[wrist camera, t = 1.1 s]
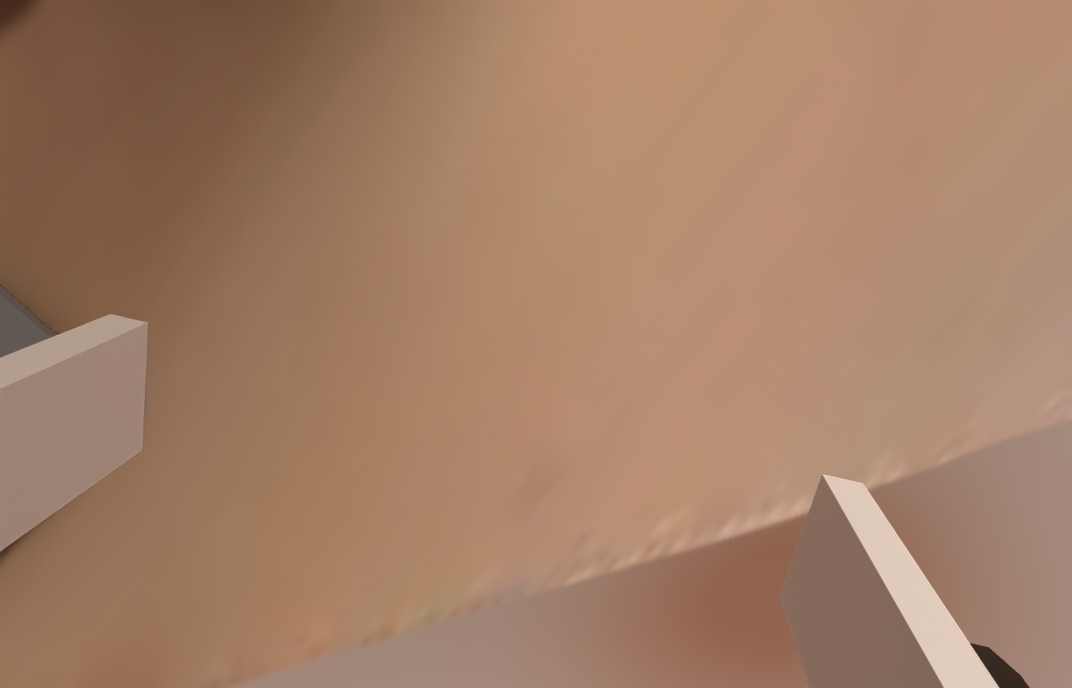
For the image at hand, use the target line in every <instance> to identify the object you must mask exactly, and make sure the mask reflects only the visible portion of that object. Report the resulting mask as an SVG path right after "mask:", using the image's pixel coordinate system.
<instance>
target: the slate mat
mask: <svg viewBox="0 0 1072 688" xmlns="http://www.w3.org/2000/svg"><path fill="white" fill-rule="evenodd" d="M54 336H56V334H55V333H54V332H53V331H52V330H51V329H50V328H48V327H47V326H46V325H45V324H44V323H43V322H41V321H40V320H39V319H38V318H37V317H36V316H35V315H33V314H32V313H31V312H30V311H29V310H28V309H27V308H25V307H24V306H23V305H22V304H21V303H20V302H19V301H17V300H16V299H15V298H14V297H13V296H12V295H11V294H9V293H8V292H7V291H6V290H5V289H4V288H2V287H1V286H0V358H1V357H3V356H6V355H8V354H11V353H13V352H16V351H18V350H21V349H24V348H26V347H29V346H31V345H34V344H36V343H39V342H41V341H44V340H46V339H49V338H51V337H54ZM4 549H5V548H4ZM4 549H3V550H4ZM3 550H2V551H3ZM2 551H0V553H1V552H2Z"/></svg>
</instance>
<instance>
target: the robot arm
mask: <svg viewBox="0 0 1072 688" xmlns="http://www.w3.org/2000/svg"><path fill="white" fill-rule="evenodd" d="M147 335H148V322H143V321H139V320H134V319H130V318H126V317H121V316H117V315H112V314H109V315H106V316H104V317H101V318H99V319H96V320H94V321H91V322H89V323H86V324H84V325H81V326H79V327H76V328H74V329H71V330H69V331H66V332H64V333H61V334H59V335H56V336H54V337H51V338H49V339H46V340H44V341H41V342H39V343H36V344H34V345H31V346H29V347H26V348H24V349H21V350H18V351H16V352H13V353H11V354H8V355H6V356H3V357H1V358H0V551H2V550H3V549H4V548H6V547H7V546H9V545H10V544H11V543H13V542H14V541H16V540H17V539H18V538H20V537H21V536H23V535H24V534H25V533H27V532H28V531H30V530H31V529H32V528H34V527H35V526H37V525H38V524H39V523H41V522H42V521H44V520H45V519H46V518H48V517H49V516H51V515H52V514H53V513H55V512H56V511H58V510H59V509H60V508H62V507H63V506H65V505H66V504H67V503H69V502H70V501H72V500H73V499H75V498H76V497H77V496H79V495H80V494H82V493H83V492H84V491H86V490H87V489H89V488H90V487H91V486H93V485H94V484H96V483H97V482H98V481H100V480H101V479H103V478H104V477H105V476H107V475H108V474H110V473H111V472H112V471H114V470H115V469H117V468H118V467H119V466H121V465H122V464H124V463H125V462H126V461H128V460H129V459H131V458H132V457H133V456H135V455H136V454H138V453H139V452H140V451H142V450H143V428H144V405H145V381H146V358H147ZM779 599H780V602H781V604H782V607H783V610H784V613H785V616H786V619H787V622H788V625H789V628H790V631H791V634H792V637H793V640H794V643H795V646H796V649H797V652H798V655H799V658H800V661H801V664H802V667H803V670H804V673H805V676H806V679H807V682H808V685H809V688H1029V686H1028V685H1027V684H1026V682H1025V681H1024V679H1023V678H1022V677H1021V676H1020V674H1018V673H1017V672H1016V671H1015V670H1014V669H1013V668H1012V667H1010V666H1009V665H1008V664H1007V663H1006V662H1005V661H1004V660H1002V659H1001V658H1000V657H999V656H998V655H997V654H996V653H994V652H993V651H992V650H991V649H990V648H989V647H984V646H980V645H976V644H972V643H969V642H968V640H967V639H966V637H965V636H964V634H963V633H962V631H961V630H960V628H959V627H958V625H957V624H956V622H955V621H954V619H953V618H952V616H951V615H950V613H949V612H948V610H947V609H946V607H945V606H944V604H943V603H942V601H941V600H940V598H939V597H938V595H937V594H936V592H935V591H934V589H933V588H932V586H931V585H930V583H929V582H928V580H927V579H926V577H925V576H924V574H923V573H922V571H921V570H920V568H919V567H918V565H917V564H916V562H915V561H914V559H913V558H912V556H911V555H910V553H909V552H908V550H907V549H906V547H905V546H904V544H903V543H902V541H901V540H900V538H899V537H898V535H897V534H896V532H895V531H894V529H893V528H892V526H891V525H890V523H889V522H888V521H887V519H886V517H885V516H884V514H883V513H882V511H881V510H880V508H879V507H878V505H877V504H876V502H875V501H874V499H873V498H872V496H871V495H870V493H869V491H868V490H867V488H866V487H865V485H864V484H863V483H859V482H855V481H850V480H846V479H842V478H837V477H833V476H828V475H824V474H822V476H821V479H820V482H819V485H818V488H817V491H816V494H815V496H814V499H813V502H812V505H811V508H810V511H809V513H808V517H807V519H806V522H805V525H804V528H803V531H802V534H801V536H800V539H799V542H798V545H797V548H796V550H795V553H794V556H793V559H792V562H791V565H790V568H789V570H788V573H787V576H786V579H785V582H784V585H783V588H782V591H781V593H780V596H779Z"/></svg>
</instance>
